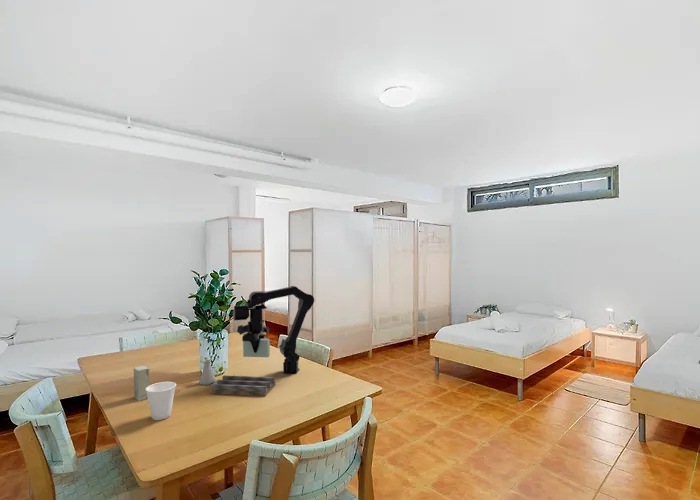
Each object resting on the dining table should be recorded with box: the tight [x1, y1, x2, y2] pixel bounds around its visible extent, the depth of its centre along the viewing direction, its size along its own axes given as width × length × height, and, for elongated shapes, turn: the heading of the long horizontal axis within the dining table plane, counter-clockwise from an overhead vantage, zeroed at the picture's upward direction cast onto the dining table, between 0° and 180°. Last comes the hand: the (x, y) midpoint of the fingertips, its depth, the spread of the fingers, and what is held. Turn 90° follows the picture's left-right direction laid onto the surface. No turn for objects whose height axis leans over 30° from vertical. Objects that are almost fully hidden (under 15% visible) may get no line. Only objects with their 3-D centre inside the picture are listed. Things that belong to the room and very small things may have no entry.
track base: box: [210, 375, 276, 397], centre depth 157 cm, size 24×12×4 cm, turn 83°
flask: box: [198, 359, 217, 386], centre depth 166 cm, size 7×7×10 cm
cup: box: [145, 381, 177, 421], centre depth 132 cm, size 10×10×11 cm
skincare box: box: [133, 365, 151, 402], centre depth 149 cm, size 6×4×12 cm
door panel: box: [242, 338, 271, 358], centre depth 172 cm, size 12×2×8 cm, turn 82°
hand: (256, 351), depth 172 cm, fingers closed on door panel, 2 cm apart
